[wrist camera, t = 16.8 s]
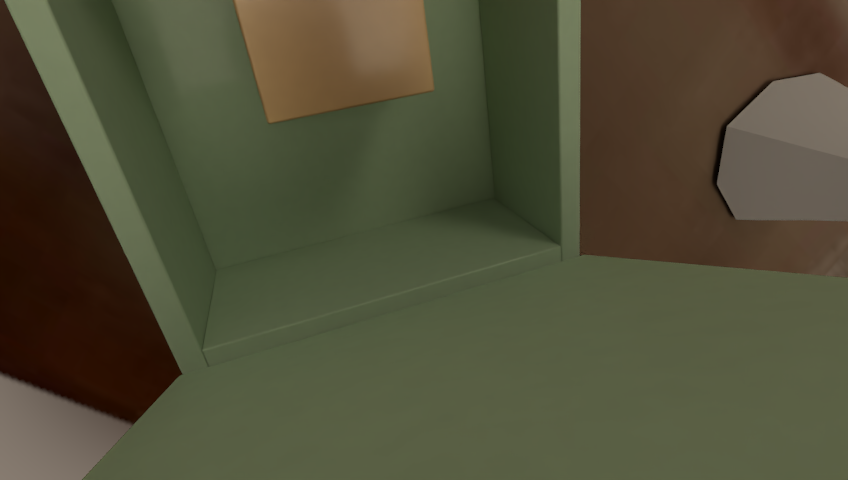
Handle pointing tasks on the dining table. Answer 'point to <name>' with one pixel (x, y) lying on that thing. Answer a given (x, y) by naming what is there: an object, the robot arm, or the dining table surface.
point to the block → (334, 53)
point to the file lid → (531, 386)
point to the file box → (314, 166)
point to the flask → (789, 153)
